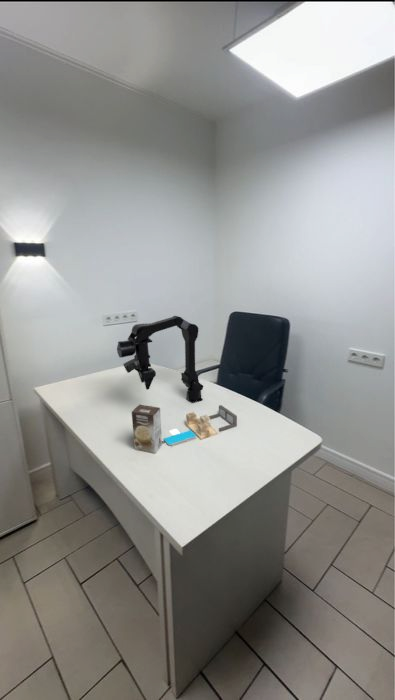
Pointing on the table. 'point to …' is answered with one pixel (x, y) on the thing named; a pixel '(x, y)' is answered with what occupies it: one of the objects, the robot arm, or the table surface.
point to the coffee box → (147, 428)
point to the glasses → (226, 418)
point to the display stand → (200, 426)
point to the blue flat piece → (179, 437)
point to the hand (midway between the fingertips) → (145, 385)
